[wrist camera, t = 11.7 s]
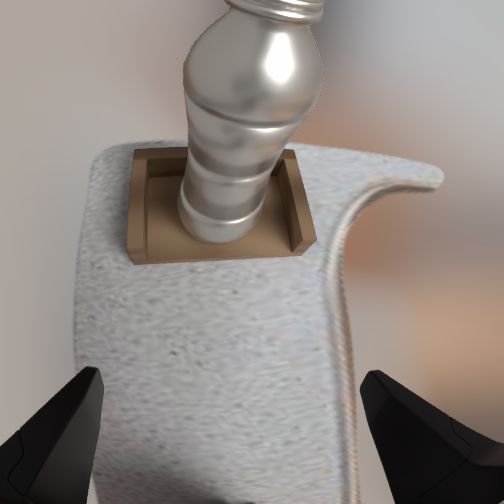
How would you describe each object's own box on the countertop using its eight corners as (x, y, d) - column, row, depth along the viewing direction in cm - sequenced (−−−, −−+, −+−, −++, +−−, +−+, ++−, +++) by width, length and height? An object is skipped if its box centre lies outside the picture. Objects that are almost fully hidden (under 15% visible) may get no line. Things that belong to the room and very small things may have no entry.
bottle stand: (301, 255, 26) (316, 239, 23) (134, 264, 23) (126, 248, 19) (283, 171, 29) (293, 149, 26) (138, 173, 26) (134, 149, 23)
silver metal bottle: (168, 198, 25) (173, -46, 6) (238, 178, 27) (309, -35, 9) (192, 264, 23) (228, -15, 5) (268, 238, 25) (401, 19, 7)
